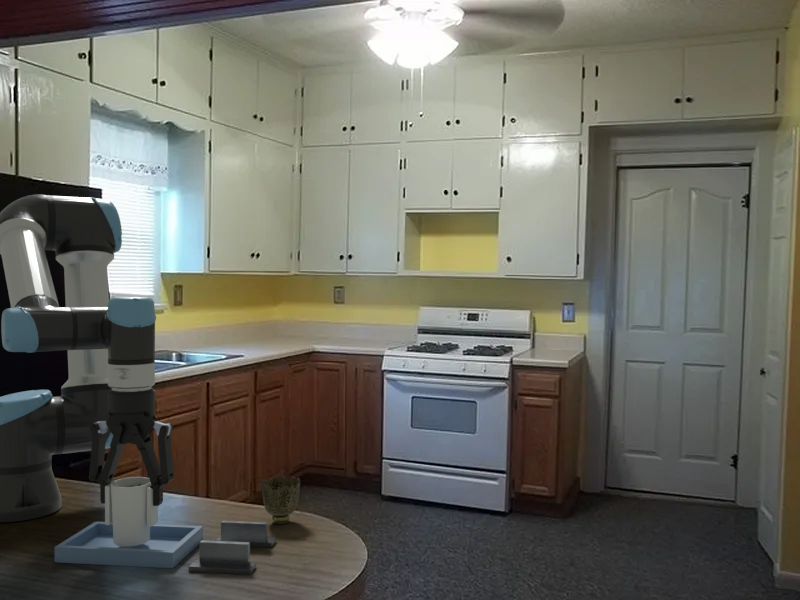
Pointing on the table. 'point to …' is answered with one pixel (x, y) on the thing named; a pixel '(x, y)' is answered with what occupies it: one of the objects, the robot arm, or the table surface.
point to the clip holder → (232, 548)
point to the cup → (280, 497)
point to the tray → (158, 552)
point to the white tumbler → (130, 511)
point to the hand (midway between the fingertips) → (131, 523)
